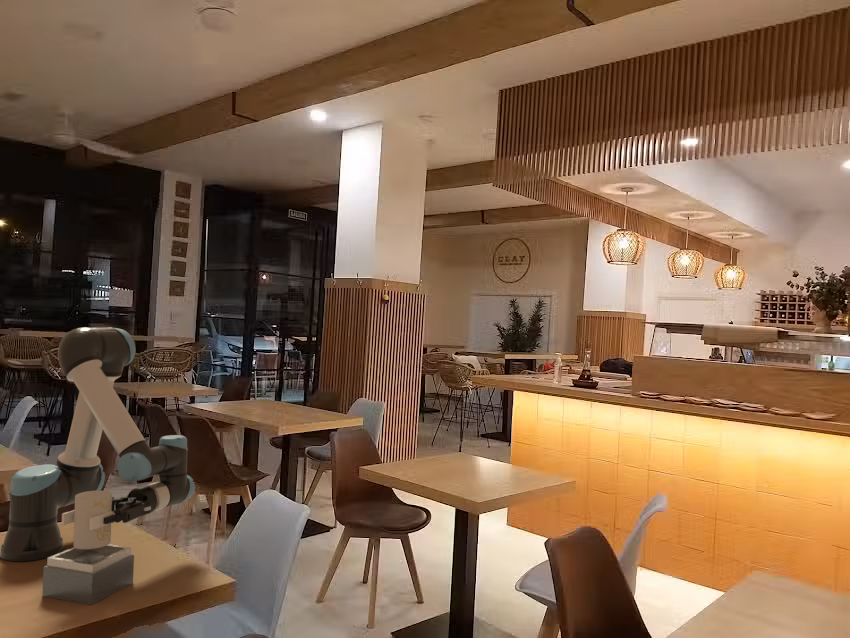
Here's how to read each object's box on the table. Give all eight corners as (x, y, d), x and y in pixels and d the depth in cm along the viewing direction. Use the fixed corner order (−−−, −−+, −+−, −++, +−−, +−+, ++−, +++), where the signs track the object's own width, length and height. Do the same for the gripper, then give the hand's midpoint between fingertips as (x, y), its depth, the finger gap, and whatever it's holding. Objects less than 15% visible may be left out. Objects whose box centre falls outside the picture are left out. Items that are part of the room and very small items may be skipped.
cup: (95, 550, 156) (96, 500, 156) (65, 547, 158) (67, 497, 158) (117, 539, 164) (119, 491, 164) (89, 537, 166) (90, 489, 166)
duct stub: (42, 596, 156) (44, 558, 156) (87, 575, 170) (88, 540, 170) (91, 604, 152) (92, 566, 152) (132, 582, 166) (134, 547, 166)
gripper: (178, 518, 174) (110, 543, 153) (117, 508, 181) (43, 531, 160) (179, 489, 174) (111, 511, 153) (118, 481, 182) (45, 500, 160)
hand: (76, 521), depth 157 cm, fingers closed on cup, 8 cm apart
